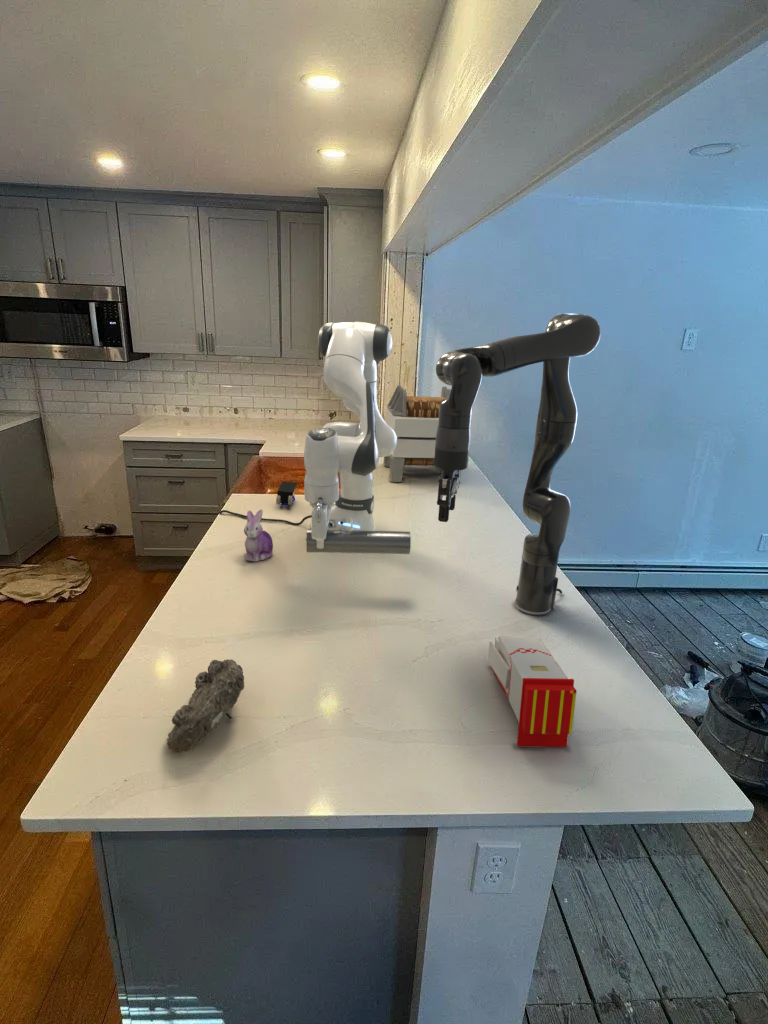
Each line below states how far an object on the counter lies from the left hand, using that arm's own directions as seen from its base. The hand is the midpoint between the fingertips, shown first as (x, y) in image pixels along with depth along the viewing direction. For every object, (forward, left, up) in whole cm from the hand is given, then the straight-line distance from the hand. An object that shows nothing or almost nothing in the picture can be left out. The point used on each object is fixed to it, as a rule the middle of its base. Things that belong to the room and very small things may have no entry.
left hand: (321, 541), depth 150 cm
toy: (+56, -28, -16) cm, 64 cm away
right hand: (+34, -7, +15) cm, 37 cm away
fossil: (-1, -52, -16) cm, 55 cm away
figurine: (-27, +16, -16) cm, 36 cm away
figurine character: (-40, +64, -16) cm, 78 cm away
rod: (+9, +3, -3) cm, 10 cm away
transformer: (-2, +131, -16) cm, 132 cm away
